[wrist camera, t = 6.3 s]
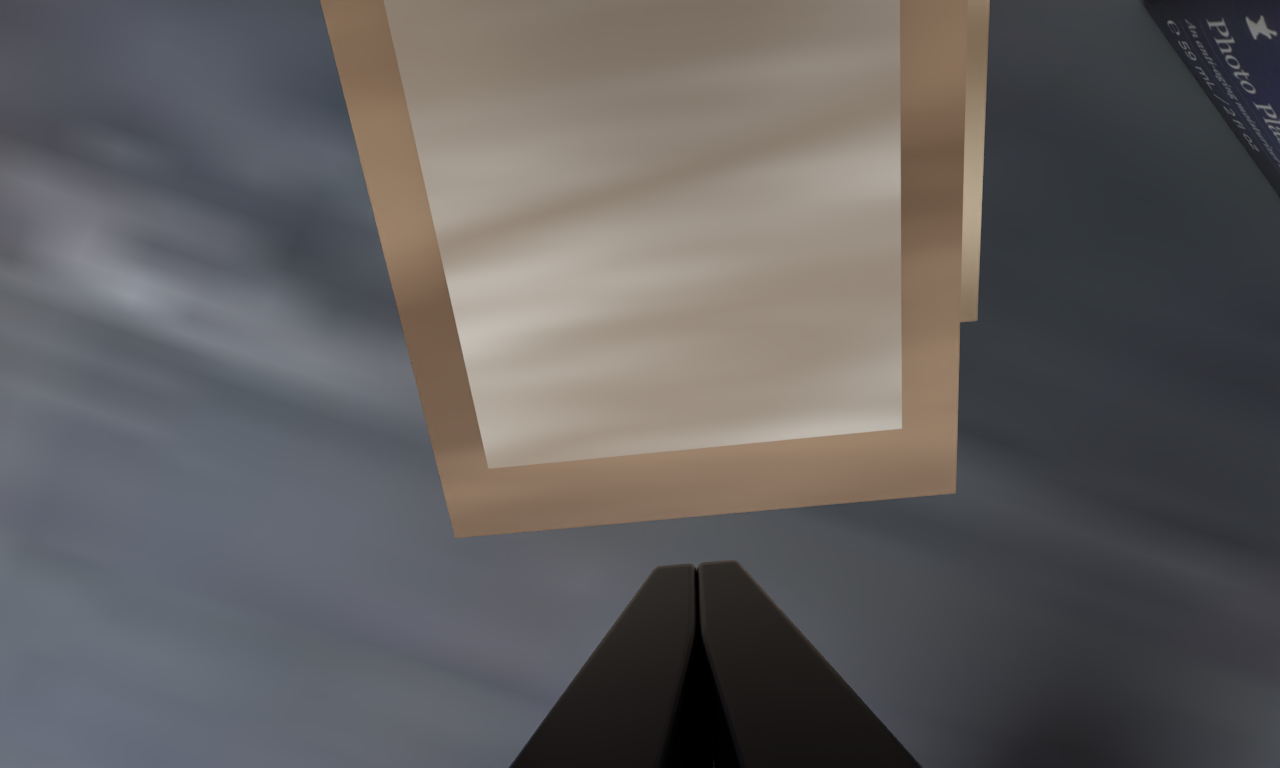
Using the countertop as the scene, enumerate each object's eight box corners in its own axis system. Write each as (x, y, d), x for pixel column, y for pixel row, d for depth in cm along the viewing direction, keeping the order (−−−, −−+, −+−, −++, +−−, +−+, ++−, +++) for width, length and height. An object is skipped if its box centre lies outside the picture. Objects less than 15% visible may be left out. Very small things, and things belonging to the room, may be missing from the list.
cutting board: (968, 313, 18) (977, 320, 18) (426, 368, 19) (418, 377, 19) (995, -488, 13) (1010, -515, 12) (255, -354, 14) (237, -371, 13)
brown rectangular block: (961, 502, 13) (986, -406, 9) (451, 547, 14) (243, -270, 10) (883, 386, 18) (875, -236, 14) (508, 424, 19) (387, -155, 15)
